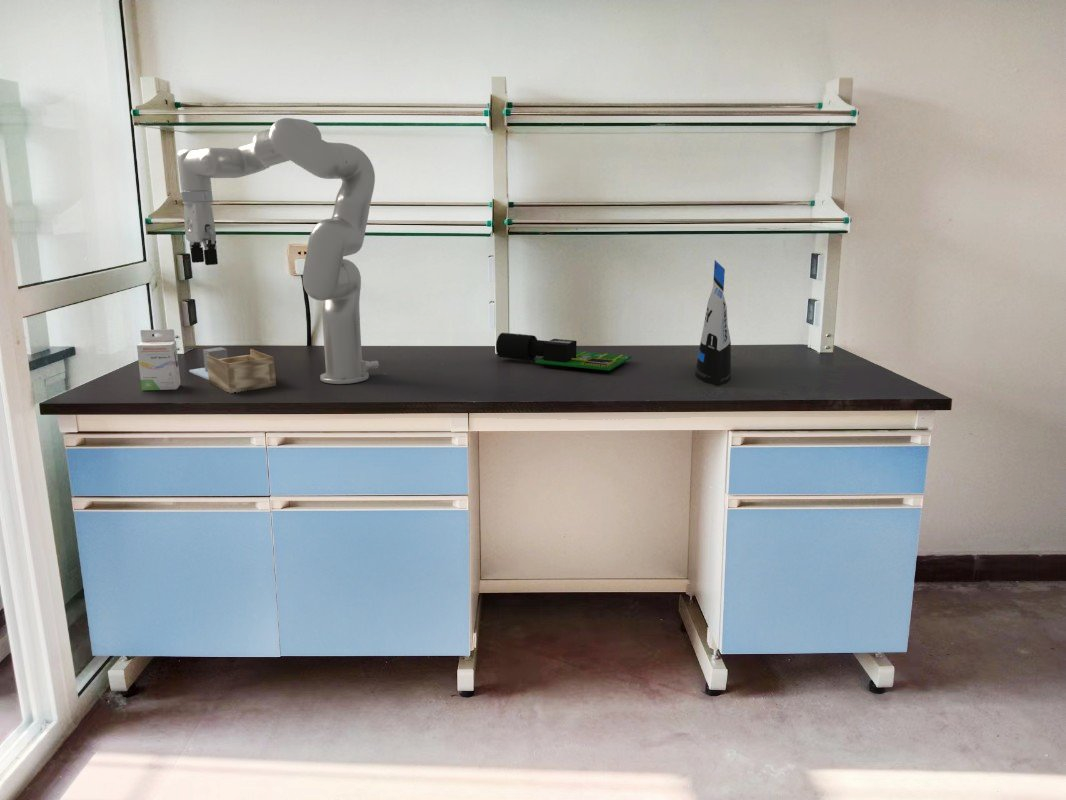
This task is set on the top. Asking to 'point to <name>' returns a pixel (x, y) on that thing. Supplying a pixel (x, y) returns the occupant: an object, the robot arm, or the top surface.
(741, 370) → the top surface
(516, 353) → the electronic board model
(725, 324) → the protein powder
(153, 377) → the ink box
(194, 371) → the cover plate
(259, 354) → the beech box
